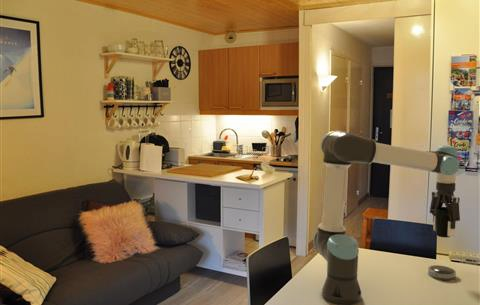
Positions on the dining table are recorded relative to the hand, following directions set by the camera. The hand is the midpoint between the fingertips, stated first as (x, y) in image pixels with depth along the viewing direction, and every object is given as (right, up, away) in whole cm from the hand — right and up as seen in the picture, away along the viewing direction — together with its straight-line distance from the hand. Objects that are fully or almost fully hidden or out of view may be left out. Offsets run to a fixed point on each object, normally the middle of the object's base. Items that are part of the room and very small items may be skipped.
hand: (443, 232), depth 187 cm
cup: (0, -1, 0) cm, 1 cm away
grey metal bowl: (0, -19, +2) cm, 19 cm away
